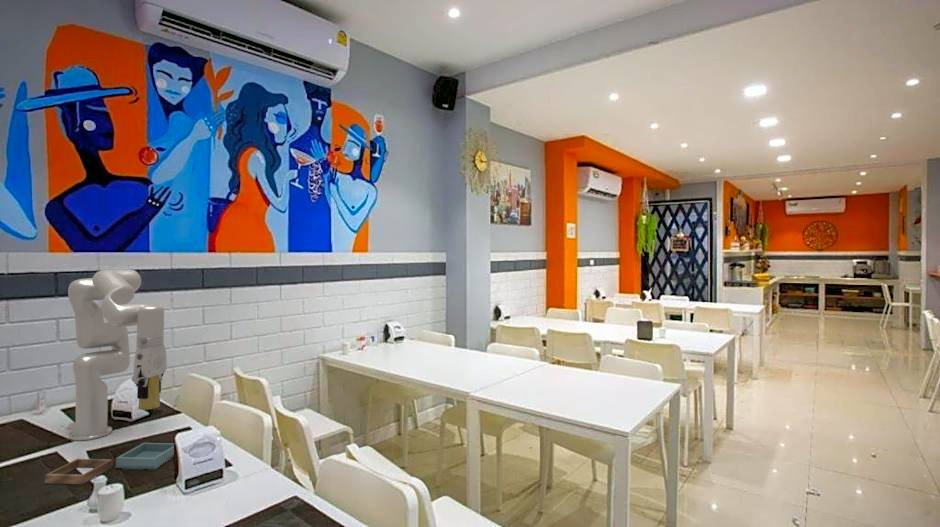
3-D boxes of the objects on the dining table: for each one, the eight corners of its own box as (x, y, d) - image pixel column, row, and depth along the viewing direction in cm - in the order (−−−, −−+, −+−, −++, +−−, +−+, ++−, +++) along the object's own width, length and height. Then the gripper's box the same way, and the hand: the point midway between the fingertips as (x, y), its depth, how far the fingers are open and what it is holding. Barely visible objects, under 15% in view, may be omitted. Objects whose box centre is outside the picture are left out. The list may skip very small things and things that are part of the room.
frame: (44, 483, 141) (44, 475, 141) (77, 466, 152) (77, 458, 152) (82, 484, 140) (82, 476, 140) (112, 467, 152) (112, 459, 152)
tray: (115, 468, 151) (116, 458, 151) (143, 452, 164) (143, 442, 163) (154, 469, 151) (154, 459, 151) (179, 453, 163) (179, 443, 163)
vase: (148, 410, 153) (149, 367, 153) (133, 409, 155) (134, 366, 154) (164, 405, 159) (165, 363, 159) (149, 403, 161) (150, 362, 160)
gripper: (143, 347, 148) (142, 404, 148) (177, 338, 165) (176, 388, 165) (119, 346, 148) (118, 403, 148) (156, 337, 165) (155, 388, 166)
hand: (149, 395), depth 157 cm, fingers closed on vase, 5 cm apart
